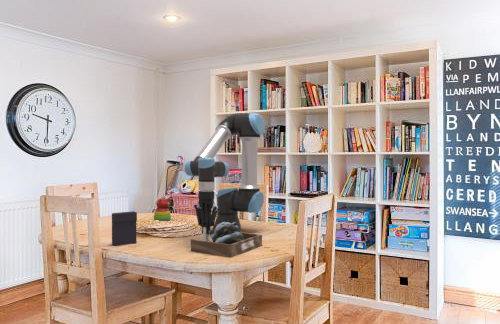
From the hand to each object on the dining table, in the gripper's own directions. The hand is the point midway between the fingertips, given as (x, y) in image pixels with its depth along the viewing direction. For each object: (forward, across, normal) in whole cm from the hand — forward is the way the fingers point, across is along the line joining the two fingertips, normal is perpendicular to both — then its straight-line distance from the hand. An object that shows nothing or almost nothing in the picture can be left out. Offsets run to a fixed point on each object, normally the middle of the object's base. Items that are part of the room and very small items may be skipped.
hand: (206, 241), depth 205 cm
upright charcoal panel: (+3, -35, -18) cm, 39 cm away
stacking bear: (+2, -45, +20) cm, 49 cm away
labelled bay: (+2, +11, 0) cm, 11 cm away
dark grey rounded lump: (+2, +11, 0) cm, 11 cm away
